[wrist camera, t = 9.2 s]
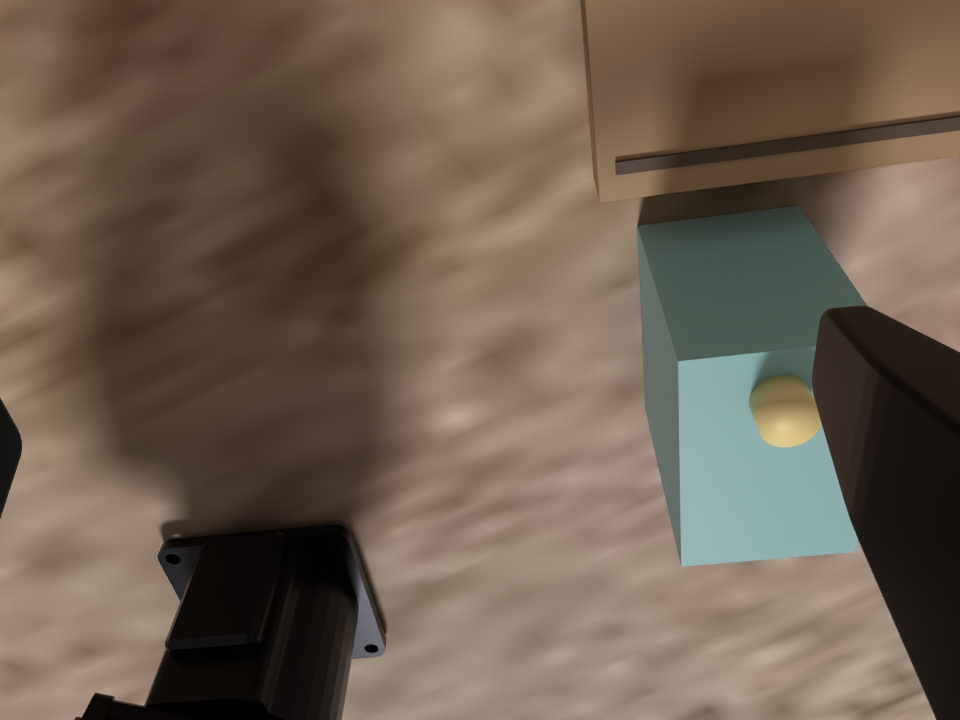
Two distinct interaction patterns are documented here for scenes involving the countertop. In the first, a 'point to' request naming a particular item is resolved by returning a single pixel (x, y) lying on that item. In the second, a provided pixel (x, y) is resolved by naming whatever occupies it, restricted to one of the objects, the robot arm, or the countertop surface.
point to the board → (766, 89)
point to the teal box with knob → (741, 384)
